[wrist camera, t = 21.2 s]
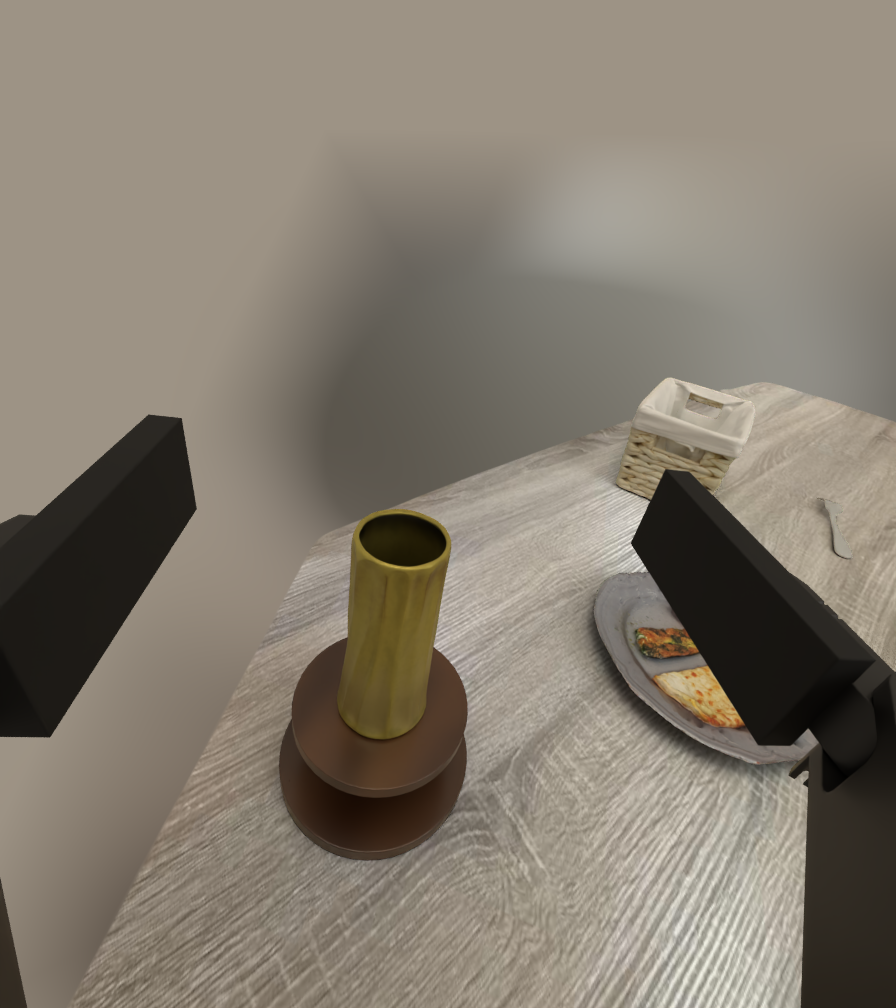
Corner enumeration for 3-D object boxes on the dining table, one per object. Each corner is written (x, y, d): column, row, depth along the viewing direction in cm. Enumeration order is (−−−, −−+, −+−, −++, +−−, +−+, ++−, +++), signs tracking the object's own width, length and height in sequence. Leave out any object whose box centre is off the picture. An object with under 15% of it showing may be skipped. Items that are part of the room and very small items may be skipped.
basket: (702, 527, 73) (749, 442, 65) (602, 486, 80) (634, 403, 72) (720, 474, 91) (759, 402, 83) (638, 444, 98) (666, 374, 90)
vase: (355, 652, 36) (367, 494, 28) (434, 673, 35) (468, 518, 27) (322, 726, 31) (325, 557, 23) (414, 752, 30) (448, 588, 22)
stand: (245, 840, 31) (235, 784, 27) (316, 664, 43) (316, 607, 39) (456, 878, 31) (477, 828, 27) (469, 692, 43) (485, 638, 39)
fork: (823, 564, 74) (834, 551, 73) (813, 497, 89) (822, 485, 87) (844, 571, 73) (855, 559, 72) (830, 502, 88) (839, 491, 86)
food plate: (729, 582, 63) (742, 561, 61) (897, 756, 44) (923, 735, 42) (557, 586, 56) (565, 564, 55) (667, 792, 38) (686, 769, 36)
